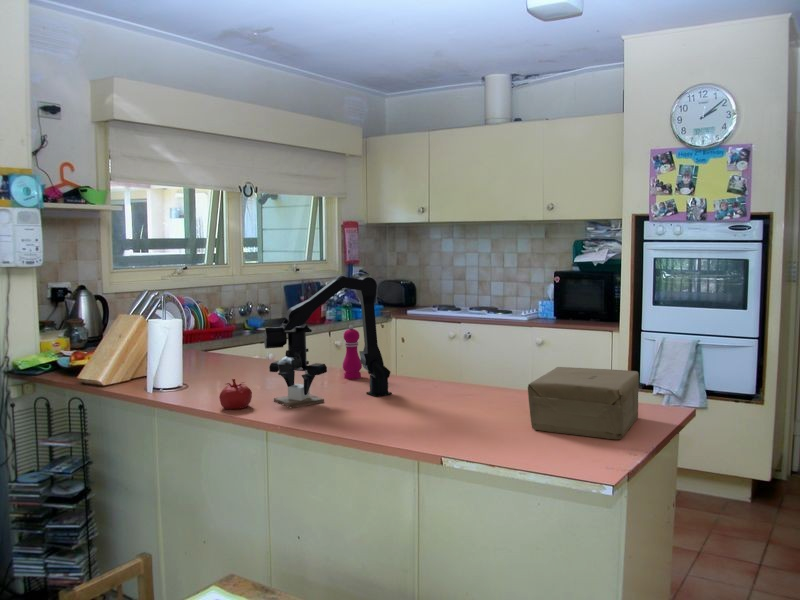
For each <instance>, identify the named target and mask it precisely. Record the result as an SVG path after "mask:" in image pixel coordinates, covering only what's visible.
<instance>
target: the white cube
mask: <svg viewBox="0 0 800 600" xmlns="http://www.w3.org/2000/svg"><path fill="white" fill-rule="evenodd" d="M309 394H310V390H309V391H308V393H307V395H304V384H300V383H294V385H292V386H289V387H288V386H287V396H288V399H291V400H300V401H302V400H304V399H306V398H309V397H310V396H309Z"/></svg>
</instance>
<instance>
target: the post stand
mask: <svg viewBox="0 0 800 600" xmlns="http://www.w3.org/2000/svg"><path fill="white" fill-rule="evenodd" d="M309 396H310V397H309V398H306V399H304V400H302V401H300V400H291V399H288V395H285V396H278V397H273V401H274V402H275V401H276V402H275V403H277V402H279V403H278V404H280V403H281V404H280V405H282V404H284V405H283V406H285V405H286V407H287V406H288V407H287V408H290V407H293V408H298V407H297V406H299V407H304V405H305V406H310V405H315V404H321V403H324V402H325V398H322V397H319V396H316V395H313V394H311V393H309Z"/></svg>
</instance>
